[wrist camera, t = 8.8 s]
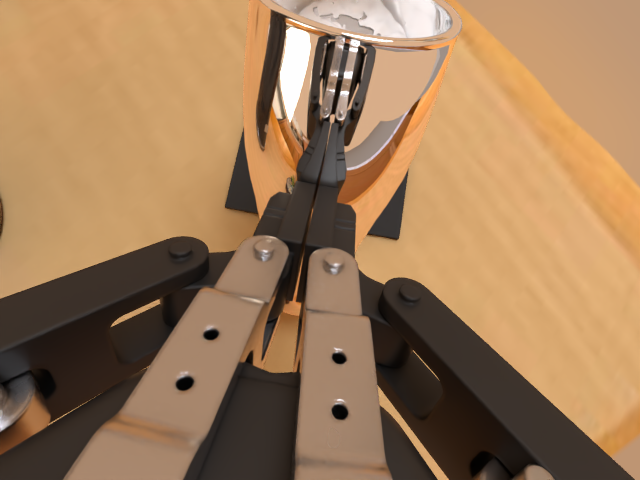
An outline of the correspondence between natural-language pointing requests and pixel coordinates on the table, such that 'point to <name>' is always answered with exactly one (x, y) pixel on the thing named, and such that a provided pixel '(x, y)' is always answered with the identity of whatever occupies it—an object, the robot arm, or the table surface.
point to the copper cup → (341, 96)
